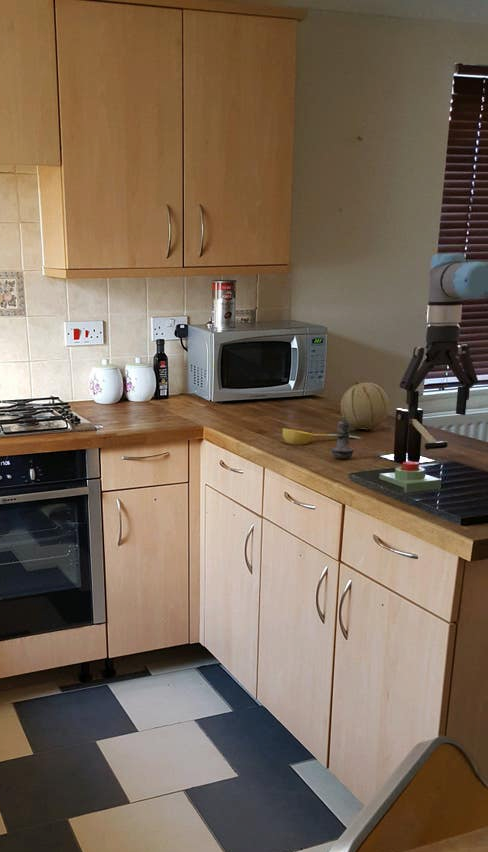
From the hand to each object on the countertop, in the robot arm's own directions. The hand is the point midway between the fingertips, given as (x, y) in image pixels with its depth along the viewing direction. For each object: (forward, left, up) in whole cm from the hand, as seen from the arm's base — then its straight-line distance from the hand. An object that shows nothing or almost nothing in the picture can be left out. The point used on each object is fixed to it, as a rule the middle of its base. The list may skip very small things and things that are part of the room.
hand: (436, 416), depth 210 cm
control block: (-11, +14, -13) cm, 22 cm away
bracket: (+11, 0, -13) cm, 18 cm away
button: (-11, +14, -10) cm, 20 cm away
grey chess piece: (+19, +14, -14) cm, 27 cm away
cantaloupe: (+61, -18, -14) cm, 65 cm away
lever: (+6, 0, -5) cm, 8 cm away
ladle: (+44, +5, -14) cm, 47 cm away
